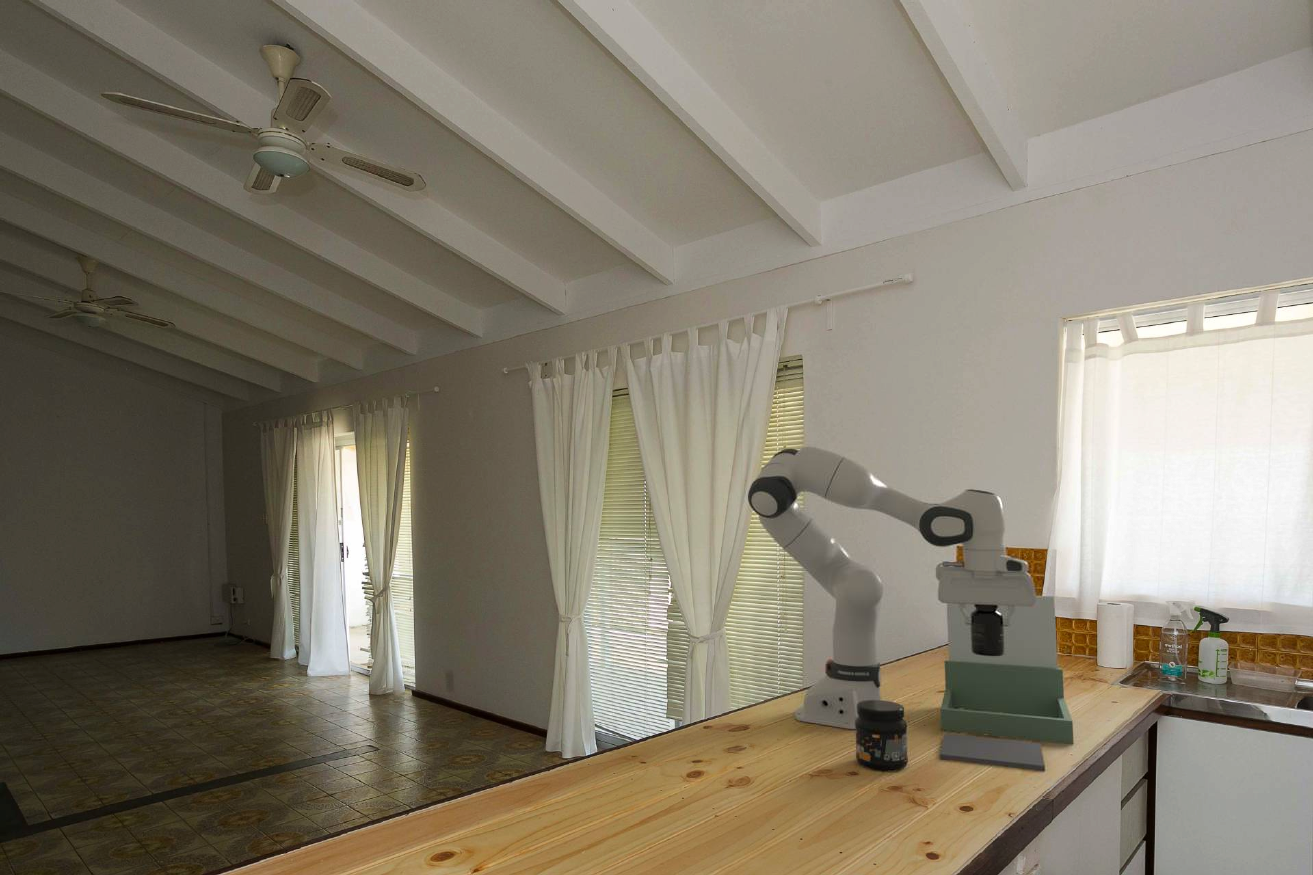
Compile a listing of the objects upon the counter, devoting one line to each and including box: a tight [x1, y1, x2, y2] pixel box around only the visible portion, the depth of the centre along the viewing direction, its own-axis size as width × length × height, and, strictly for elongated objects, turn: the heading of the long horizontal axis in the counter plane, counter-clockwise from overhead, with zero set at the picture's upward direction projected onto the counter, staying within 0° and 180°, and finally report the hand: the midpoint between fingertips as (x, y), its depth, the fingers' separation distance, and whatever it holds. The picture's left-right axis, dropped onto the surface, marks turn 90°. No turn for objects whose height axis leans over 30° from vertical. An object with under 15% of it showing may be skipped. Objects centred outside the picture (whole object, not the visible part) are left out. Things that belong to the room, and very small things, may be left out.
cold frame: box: [940, 595, 1075, 745], centre depth 193 cm, size 28×25×30 cm
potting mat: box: [939, 733, 1046, 772], centre depth 169 cm, size 20×16×1 cm
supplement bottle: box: [970, 604, 1005, 656], centre depth 174 cm, size 7×7×12 cm
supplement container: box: [855, 699, 909, 772], centre depth 163 cm, size 10×10×12 cm
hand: (987, 625), depth 173 cm, fingers closed on supplement bottle, 6 cm apart
